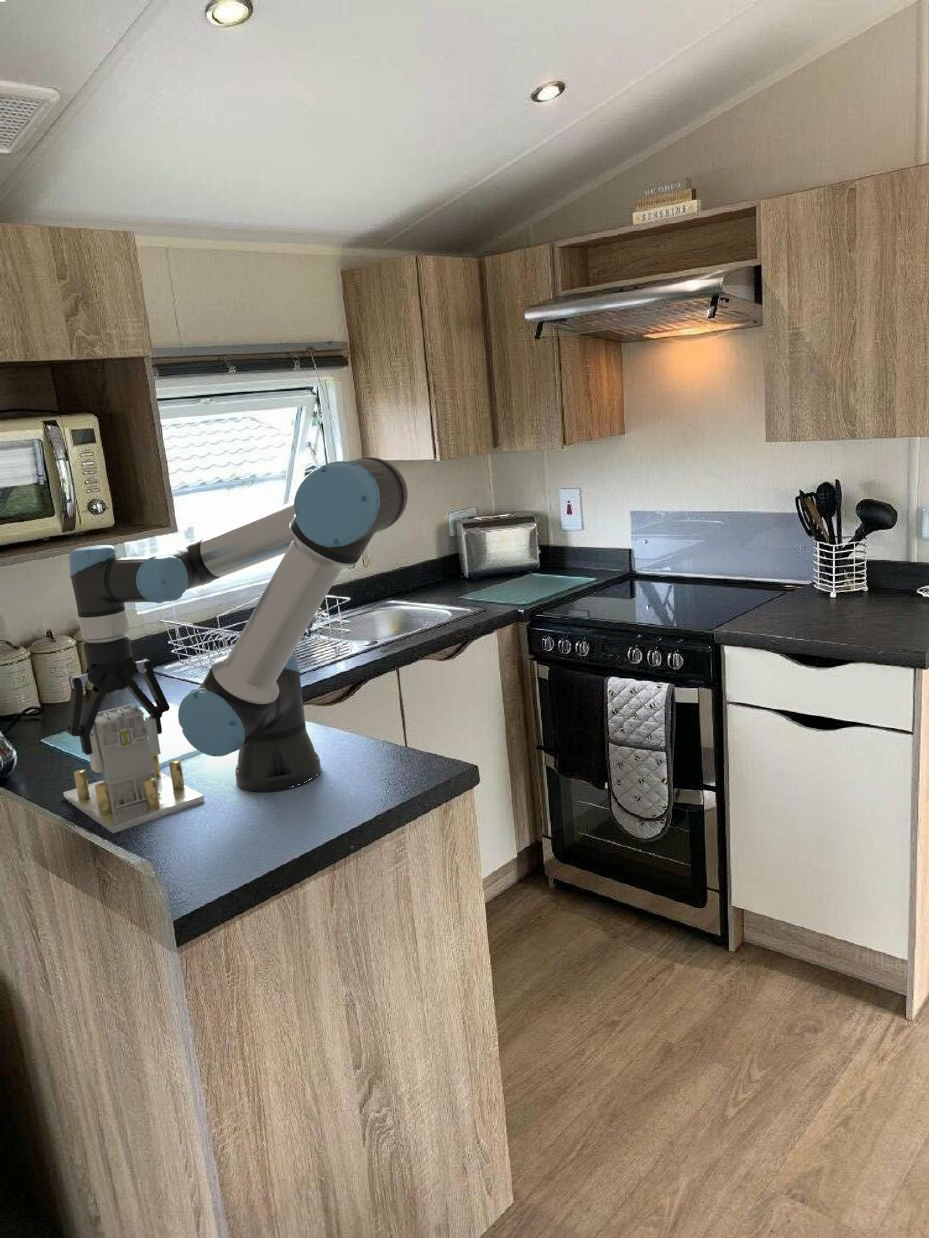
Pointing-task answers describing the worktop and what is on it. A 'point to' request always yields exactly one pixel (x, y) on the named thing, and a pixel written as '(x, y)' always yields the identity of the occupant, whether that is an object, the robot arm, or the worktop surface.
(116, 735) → the circuit breaker
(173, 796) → the mounting plate
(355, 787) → the worktop surface
